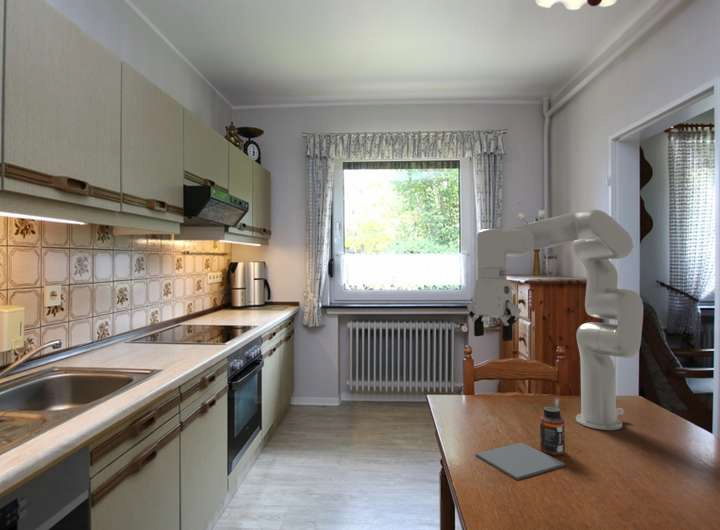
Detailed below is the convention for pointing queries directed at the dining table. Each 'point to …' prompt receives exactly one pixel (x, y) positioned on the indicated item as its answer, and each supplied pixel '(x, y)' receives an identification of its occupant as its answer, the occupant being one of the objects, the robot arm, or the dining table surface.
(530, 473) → the mat
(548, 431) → the supplement bottle
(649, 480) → the dining table surface
